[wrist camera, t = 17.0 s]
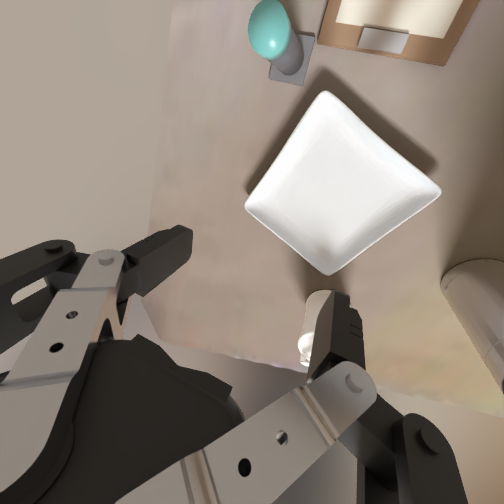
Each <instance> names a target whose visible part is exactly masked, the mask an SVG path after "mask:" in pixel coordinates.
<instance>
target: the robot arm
mask: <svg viewBox="0 0 504 504" xmlns="http://www.w3.org/2000/svg"><path fill="white" fill-rule="evenodd" d="M192 240H193V231H192V230H191V229H189V228H187V227H184V226H182V225H177V226H175V227H173V228H171V229H166V230H162V231H158V232H156V233H154V234H152V235H151V236H149V237H147V238H145V239H144V240H141V241H139V242H137V243H135V244H133V245H131V246H130V247H128V248H126V249H124V250H122V251H117V250H101V251H97V252H95V253H93V254H91V255H90V254H85V253H79V252H76V249H75V246H74V244H73V243H72V242H70V241H67V240H51V241H46V242H43V243H40V244H38V245H35V246H33V247H30V248H28V249H25V250H23V251H20V252H18V253H15V254H13V255H10V256H8V257H5V258H3V259H0V354H2V353H3V352H5V351H6V350H7V349H9V348H10V347H12V346H13V345H15V344H16V343H18V342H19V341H20V340H22V339H23V338H25V337H26V336H28V335H29V334H31V333H32V332H33V334H32V335H31V337H30V339H29V340H28V342H27V344H26V345H25V347H24V349H23V350H22V352H21V354H20V355H19V357H18V359H17V360H16V362H15V364H14V365H13V367H12V369H11V370H10V371H7V372H4V373H1V374H0V504H271V503H272V502H273V501H275V500H276V499H277V498H278V497H279V496H280V495H281V494H282V493H283V492H284V491H285V490H286V489H287V488H288V487H289V486H290V485H291V484H292V483H293V482H294V481H295V480H296V479H297V478H298V477H299V476H300V475H301V474H302V473H304V472H305V470H307V469H308V468H309V467H310V466H311V465H312V464H313V463H314V462H315V461H316V460H317V459H318V458H319V457H320V456H321V455H322V454H323V453H324V452H325V451H326V450H327V449H328V448H329V447H330V446H331V445H332V444H333V443H334V442H335V441H336V439H338V440H339V441H340V442H341V443H342V444H343V445H344V446H345V447H346V448H347V449H348V450H349V451H350V452H351V453H352V454H353V455H354V456H355V457H356V458H357V460H358V461H357V504H468V501H467V498H466V494H465V491H464V487H463V484H462V480H461V477H460V473H459V470H458V467H457V463H456V459H455V456H454V453H453V450H452V448H451V446H450V444H449V443H448V441H447V440H446V438H445V437H444V435H443V434H442V433H441V432H440V430H439V429H438V428H437V427H436V426H435V425H434V424H433V423H431V422H430V421H429V420H427V419H426V418H424V417H423V416H421V415H418V414H415V413H410V414H407V415H405V416H403V415H402V414H401V413H399V412H398V411H397V410H396V409H394V408H393V407H392V406H391V405H390V404H388V403H387V402H386V401H385V400H384V399H383V398H381V397H380V395H378V393H377V391H376V386H375V384H374V382H373V380H372V378H371V377H370V375H369V374H368V373H367V372H366V368H365V355H364V341H363V331H362V330H363V328H362V319H361V317H360V315H359V313H358V311H357V310H355V309H353V308H351V307H350V296H349V295H347V294H345V293H342V292H340V291H337V290H335V289H333V290H332V291H331V293H330V295H329V296H328V298H327V300H326V301H325V303H324V305H323V306H322V308H321V310H320V312H319V314H318V317H317V321H316V326H315V332H314V338H313V344H312V350H311V357H310V363H309V369H308V375H307V383H309V384H308V385H306V386H305V387H303V388H302V387H297V388H295V389H294V390H292V391H290V392H289V393H287V394H286V395H284V396H283V397H281V398H280V399H278V400H277V401H275V402H274V403H272V404H270V405H269V406H267V407H266V408H264V409H263V410H262V411H260V412H258V413H257V414H255V415H254V416H252V417H250V418H249V419H247V420H246V419H245V417H244V414H243V412H242V411H241V409H240V407H239V406H238V405H237V403H236V402H235V400H234V399H233V398H232V397H231V396H230V393H231V390H232V386H230V385H228V384H227V383H225V382H223V381H221V380H219V379H218V378H216V377H214V376H212V375H211V374H209V373H206V372H202V371H198V370H193V369H189V368H185V367H181V366H178V365H177V364H176V363H175V362H174V361H173V360H172V359H171V358H170V357H169V356H168V355H167V353H166V352H165V351H164V350H163V349H162V348H161V347H160V346H159V345H157V344H155V343H154V342H152V341H150V340H148V339H146V338H144V337H143V336H141V335H139V334H138V335H136V337H134V338H133V339H132V340H123V333H124V327H125V323H126V319H127V315H128V310H129V306H130V302H131V295H133V294H134V293H136V294H138V295H140V296H142V297H144V296H145V295H147V294H148V293H149V292H150V291H151V290H153V289H154V288H155V287H156V286H158V285H159V284H160V283H161V282H163V281H164V280H165V279H166V278H167V277H169V276H170V275H171V274H172V273H174V272H175V271H176V270H177V269H179V268H180V267H181V266H182V265H184V264H185V263H186V262H187V261H188V260H189V258H190V256H191V253H192ZM41 278H44V280H45V282H46V284H47V286H46V287H45V288H43V289H41V290H39V291H38V292H36V293H34V294H32V295H30V296H29V297H27V298H25V299H23V300H21V301H20V302H18V303H16V304H14V305H12V303H11V298H12V296H13V295H14V293H16V292H17V291H18V290H20V289H22V288H24V287H26V286H28V285H29V284H31V283H33V282H35V281H37V280H39V279H41ZM441 290H442V293H443V294H444V296H445V298H446V299H447V301H448V303H449V304H450V306H451V308H452V310H453V311H454V313H455V314H456V316H457V318H458V319H459V321H460V323H461V324H462V326H463V328H464V329H465V331H466V333H467V334H468V336H469V338H470V339H471V341H472V343H473V344H474V346H475V348H476V349H477V351H478V353H479V354H480V356H481V358H482V359H483V361H484V363H485V364H486V366H487V368H488V369H489V371H490V372H491V374H492V376H493V377H494V379H495V381H496V382H497V384H498V386H499V387H500V389H501V391H502V392H503V394H504V262H502V261H499V260H492V259H478V260H471V261H467V262H464V263H462V264H459V265H457V266H455V267H454V268H452V269H450V270H449V271H448V272H447V273H446V274H445V275H444V277H443V279H442V281H441Z"/></svg>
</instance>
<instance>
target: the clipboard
mask: <svg viewBox="0 0 504 504" xmlns="http://www.w3.org/2000/svg"><path fill="white" fill-rule="evenodd" d="M479 2H480V0H329V1H328V5H327V9H326V12H325V16H324V20H323V23H322V27H321V31H320V34H319V38H318V41H317V43H318V44H321V45H326V46H332V47H338V48H343V49H349V50H355V51H360V52H366V53H372V54H377V55H383V56H389V57H395V58H400V59H406V60H412V61H417V62H423V63H429V64H434V65H440V66H444V65H445V64H446V62H447V60H448V59H449V57H450V55H451V53H452V51H453V49H454V48H455V46H456V44H457V42H458V40H459V38H460V36H461V35H462V33H463V31H464V29H465V27H466V25H467V24H468V22H469V20H470V18H471V16H472V14H473V13H474V11H475V9H476V7H477V5H478V3H479Z"/></svg>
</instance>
